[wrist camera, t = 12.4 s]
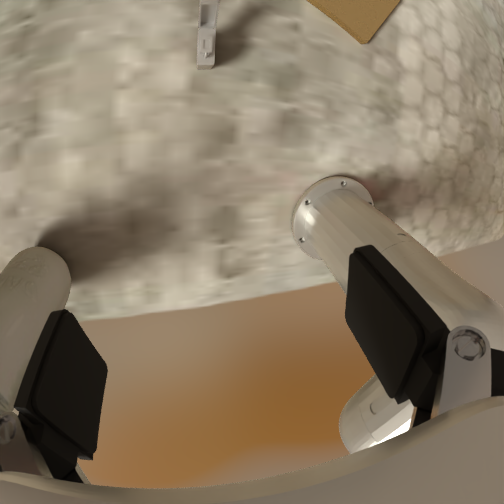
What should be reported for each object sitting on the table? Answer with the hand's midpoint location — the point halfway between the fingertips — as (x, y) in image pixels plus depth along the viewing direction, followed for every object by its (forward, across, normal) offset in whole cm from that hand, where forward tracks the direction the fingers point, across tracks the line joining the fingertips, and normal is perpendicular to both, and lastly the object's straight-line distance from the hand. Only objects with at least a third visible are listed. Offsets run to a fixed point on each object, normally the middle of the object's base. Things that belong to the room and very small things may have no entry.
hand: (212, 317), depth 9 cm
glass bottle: (+28, +26, +10) cm, 39 cm away
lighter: (+28, -3, -13) cm, 31 cm away
